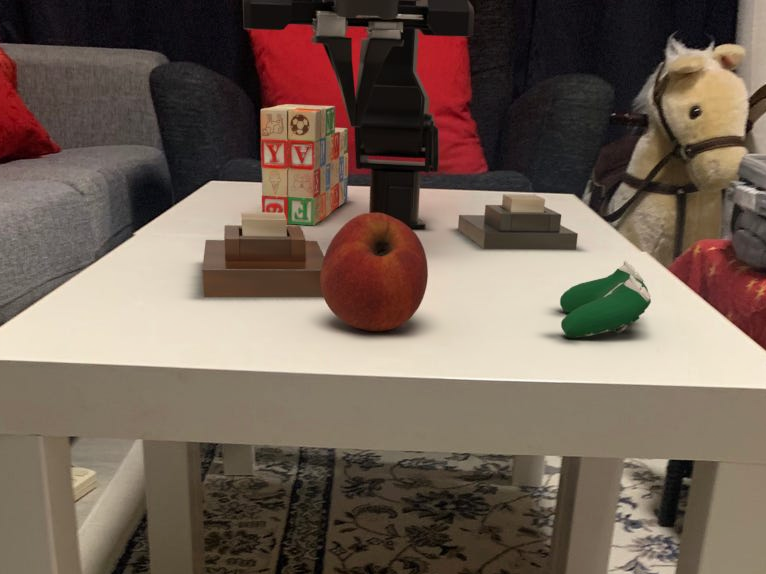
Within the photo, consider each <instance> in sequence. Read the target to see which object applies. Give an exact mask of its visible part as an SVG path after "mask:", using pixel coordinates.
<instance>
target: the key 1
mask: <svg viewBox="0 0 766 574" xmlns="http://www.w3.org/2000/svg"><path fill="white" fill-rule="evenodd" d="M240 214H241V226H242V236H287V226H288V224H287V219H286V217H285V214H284V213H264V212H262V211H260V212H257V211H256V212H255V211H253V212H252V211H251V212H249V211H248V212H247V211H243V212H241V213H240Z"/></svg>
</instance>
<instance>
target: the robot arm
mask: <svg viewBox="0 0 766 574" xmlns="http://www.w3.org/2000/svg"><path fill="white" fill-rule="evenodd" d="M333 8H334V11H333ZM242 15H243V17H242V18H243V19H242V20H243V21H242V22H243V30H260V31H261V30H263V31H264V30H265V31H283V30H285V29H286V28H287V26H288V25H296V26H299V25H301V26H304V25H305V26H310V29H311V30H313V36H311V37H310V41H311V42H310V43H311V44H318V45H319V44H321V45H322V47H323V49H324V51H325V54H326V56H327V59H328V60H329V63H330V65H331V67H332V70H333V72H334V76H335V78H336V81H337V82H336V83H337V85H338V88H339V92H340V95H341V99H342V103H343V106H344V109H345V113H346V116H347V120H348V124H349V126H350V127H351V128H354V150H355V152H354V153H355V169H356V170H363V169H364V170H365V169H367V170H370V175H369V177H370V178H369V211H368V213H383V214H386V215H389V216H391V217H393V218H395V219H398V220H400V221H401V222H403V223H404V224H405V225H407V226H408V227H409V228H410V229H426V228H427V227H426V226H427V225H426V222H424V221H423V220H422V219H420V218H419V214H420V211H419V210H420V195H421V194H420V193H421V192H420V191H421V189H420V188H421V172H423V173H425V174H426V173H427V174H430V173H437V172H438V173H439V163H440V137H439V135H440V134H439V133H440V131H439V127H438V126H437V125H436V121H435V119H434V118H435V117H434V114H433V113H430V97H429V95H428V93H427V91H426V88H425V87H424V84H423V82H422V80H421V78H420V76H419V74H418V54H419V53H418V52H419V34H420V33H421V34H422V35H423V36H427V37H428V36H430V37H431V36H432V37H434V36H435V37H456V38H457V37H460V38H461V37H466V38H470V37H471V38H473V37H474V24H475V11H474V6H473V5H472V4H471V1H469V0H322V1H306V0H305V1H304V0H242ZM349 27H350V28H352V27H355V28H365V32H366V37H362V38H360V39H361V41H360V50H359V59H358V67H357V77H356V88H355V78H354V66H353V65H354V64H353V43H352V42H353V39H352V37H347V31H348V30H349ZM419 31H420V32H419ZM369 157H383V158H385V157H386V158H404V159H424V161H409V160H407V161H405V160H390V159H389V160H388V159H387V160H386V159H370V158H369Z"/></svg>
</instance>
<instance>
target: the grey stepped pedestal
mask: <svg viewBox="0 0 766 574" xmlns="http://www.w3.org/2000/svg"><path fill="white" fill-rule="evenodd" d="M561 223H562V214H561V213H559V212H557V211H555V210H553V209H550V208H548V207H547V206H544V213H537V212H508V211H506V210H504V209H502V204H485V206H484V214H459V215H458V224H457V231H458V232H460V233H461V234H463V235H464V236H465V237H467V238H468V239H469V240H470V241H472V242H473V243H475V244H476V245H477V246H478V247H480V248H482V250H528V251H529V250H531V251H532V250H538V251H540V250H543V251H544V250H548V251H549V250H551V251H552V250H553V251H554V250H556V251H576V250H577V244H578V236H579V234H578V232H575V231H573V230H571V229H570V228H568V227H565V226H564V225H562V224H561Z"/></svg>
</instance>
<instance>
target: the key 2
mask: <svg viewBox="0 0 766 574" xmlns="http://www.w3.org/2000/svg"><path fill="white" fill-rule="evenodd" d="M545 204H546V199H545V198H543V197H542V196H539V195H536V194H526V193H525V194H522V193H521V194H518V193H503V194H502V202H501V205H502V209H504V210H506V211H508V212H537V213H544V207H545Z"/></svg>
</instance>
